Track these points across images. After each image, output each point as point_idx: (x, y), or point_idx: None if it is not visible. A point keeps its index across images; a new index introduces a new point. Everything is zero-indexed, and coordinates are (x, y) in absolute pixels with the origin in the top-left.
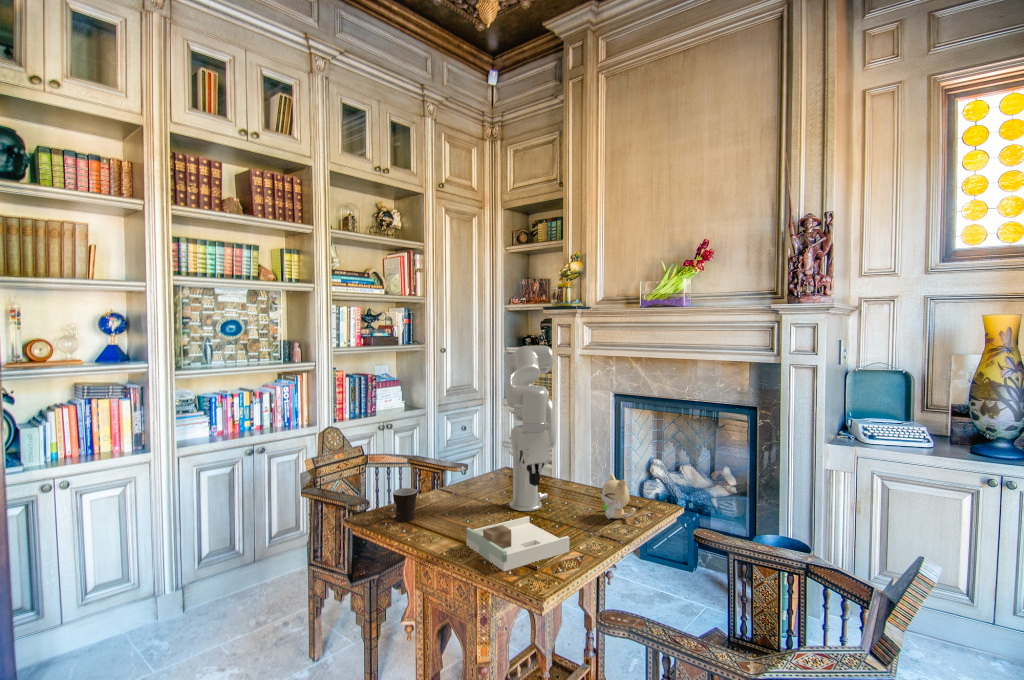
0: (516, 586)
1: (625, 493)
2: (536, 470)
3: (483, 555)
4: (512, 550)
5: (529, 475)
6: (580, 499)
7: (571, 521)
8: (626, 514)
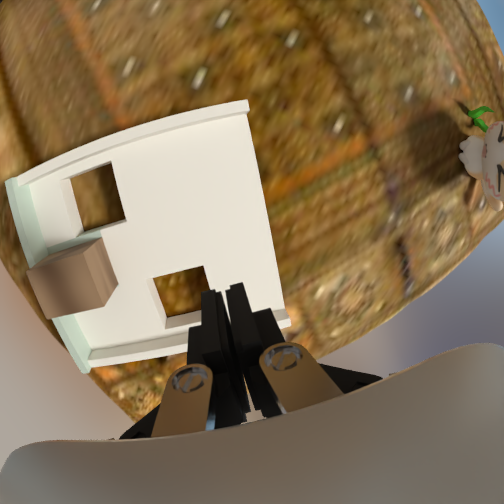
0: (113, 397)
1: None
2: (265, 412)
3: None
4: (116, 310)
5: (188, 362)
6: (449, 22)
7: (388, 117)
8: (485, 188)
